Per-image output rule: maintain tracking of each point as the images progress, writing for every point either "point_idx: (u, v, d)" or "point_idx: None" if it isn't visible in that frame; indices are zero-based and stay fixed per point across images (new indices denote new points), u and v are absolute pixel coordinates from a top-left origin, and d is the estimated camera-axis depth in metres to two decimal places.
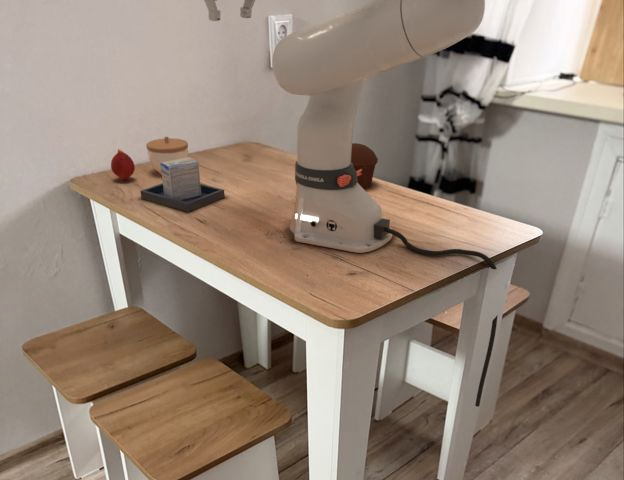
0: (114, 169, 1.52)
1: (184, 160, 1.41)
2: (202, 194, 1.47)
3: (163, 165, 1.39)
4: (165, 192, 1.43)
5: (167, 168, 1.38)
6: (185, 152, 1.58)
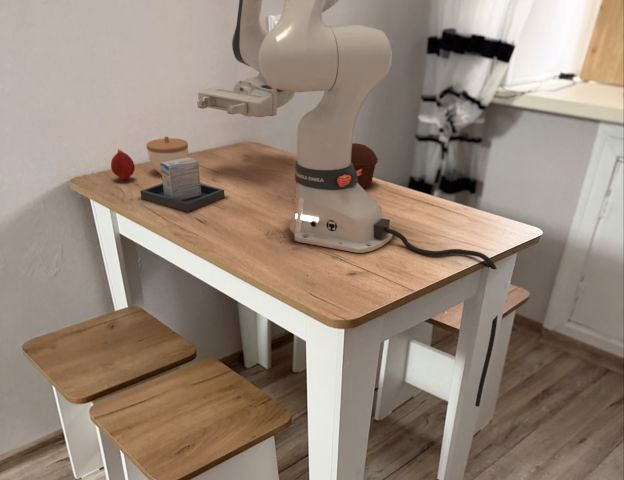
0: (114, 169, 1.52)
1: (184, 160, 1.41)
2: (202, 194, 1.47)
3: (163, 165, 1.39)
4: (165, 192, 1.43)
5: (167, 168, 1.38)
6: (185, 152, 1.58)
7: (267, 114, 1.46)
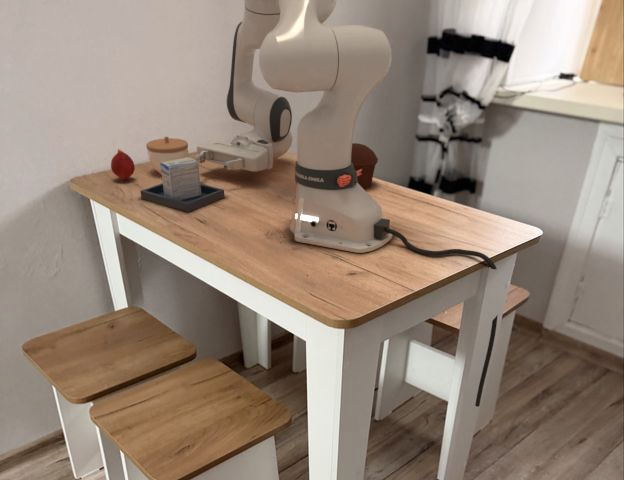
0: (114, 169, 1.52)
1: (184, 160, 1.41)
2: (202, 194, 1.47)
3: (163, 165, 1.39)
4: (165, 192, 1.43)
5: (167, 168, 1.38)
6: (185, 152, 1.58)
7: (263, 168, 1.51)
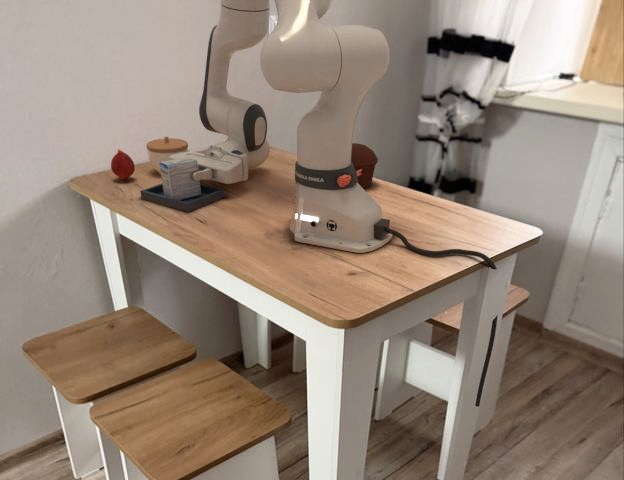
0: (114, 169, 1.52)
1: (183, 159, 1.41)
2: (202, 194, 1.47)
3: (162, 164, 1.39)
4: (165, 192, 1.43)
5: (166, 167, 1.38)
6: None
7: (237, 180, 1.44)
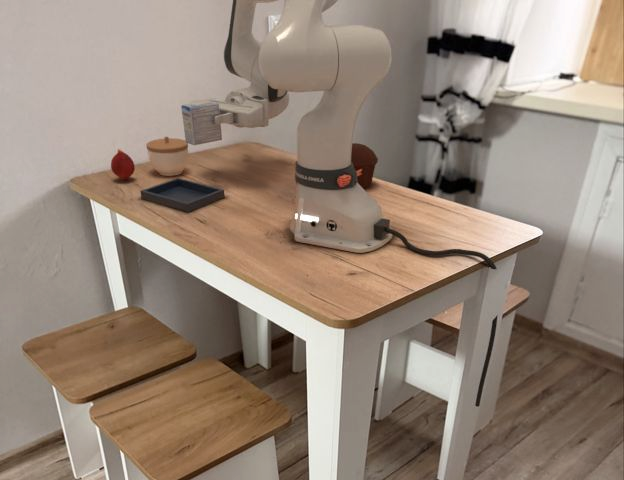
0: (114, 169, 1.52)
1: (204, 103, 1.41)
2: (202, 194, 1.47)
3: (184, 107, 1.39)
4: (186, 136, 1.43)
5: (188, 109, 1.38)
6: (185, 152, 1.58)
7: (258, 125, 1.45)
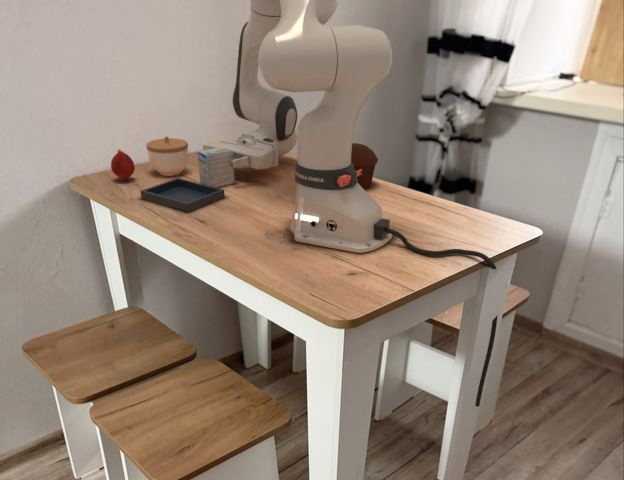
0: (114, 169, 1.52)
1: (219, 149, 1.50)
2: (202, 194, 1.47)
3: (200, 154, 1.48)
4: (201, 179, 1.52)
5: (204, 156, 1.47)
6: (185, 152, 1.58)
7: (268, 166, 1.53)
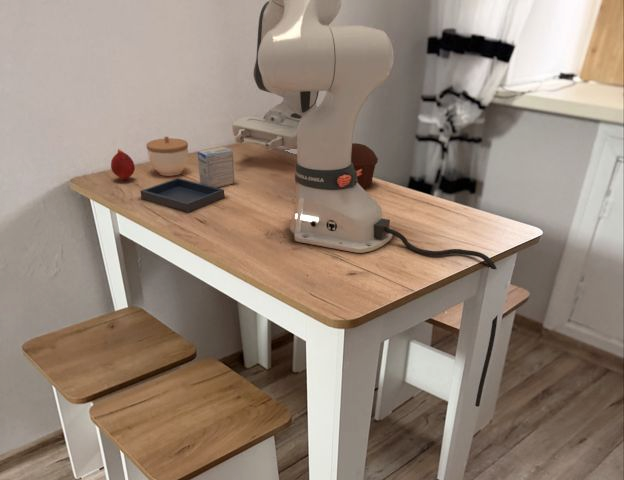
0: (114, 169, 1.52)
1: (219, 149, 1.50)
2: (202, 194, 1.47)
3: (200, 154, 1.48)
4: (201, 179, 1.52)
5: (204, 156, 1.47)
6: (185, 152, 1.58)
7: None
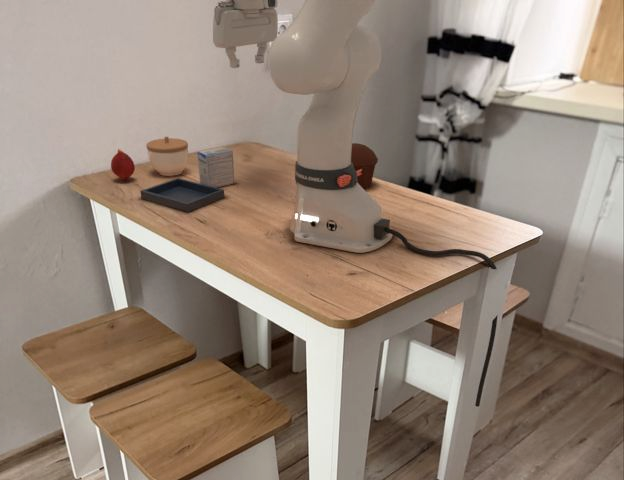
0: (114, 169, 1.52)
1: (219, 149, 1.50)
2: (202, 194, 1.47)
3: (200, 154, 1.48)
4: (201, 179, 1.52)
5: (204, 156, 1.47)
6: (185, 152, 1.58)
7: None
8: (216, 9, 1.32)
